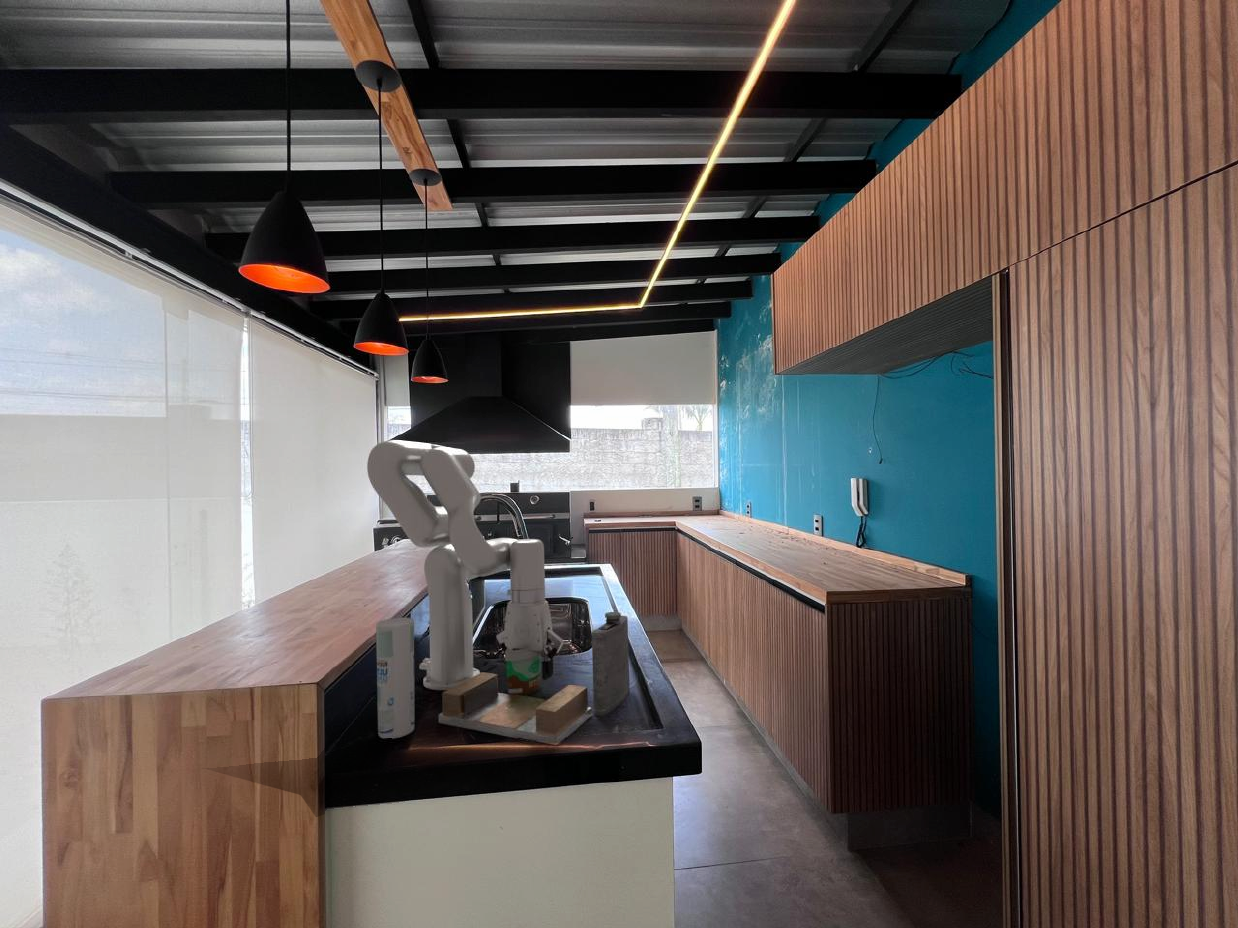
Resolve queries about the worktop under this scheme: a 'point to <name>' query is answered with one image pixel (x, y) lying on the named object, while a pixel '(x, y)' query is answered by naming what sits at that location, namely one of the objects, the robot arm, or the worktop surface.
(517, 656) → the food container
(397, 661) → the spray can
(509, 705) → the wooden u-shaped base
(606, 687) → the flask
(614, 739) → the worktop surface
